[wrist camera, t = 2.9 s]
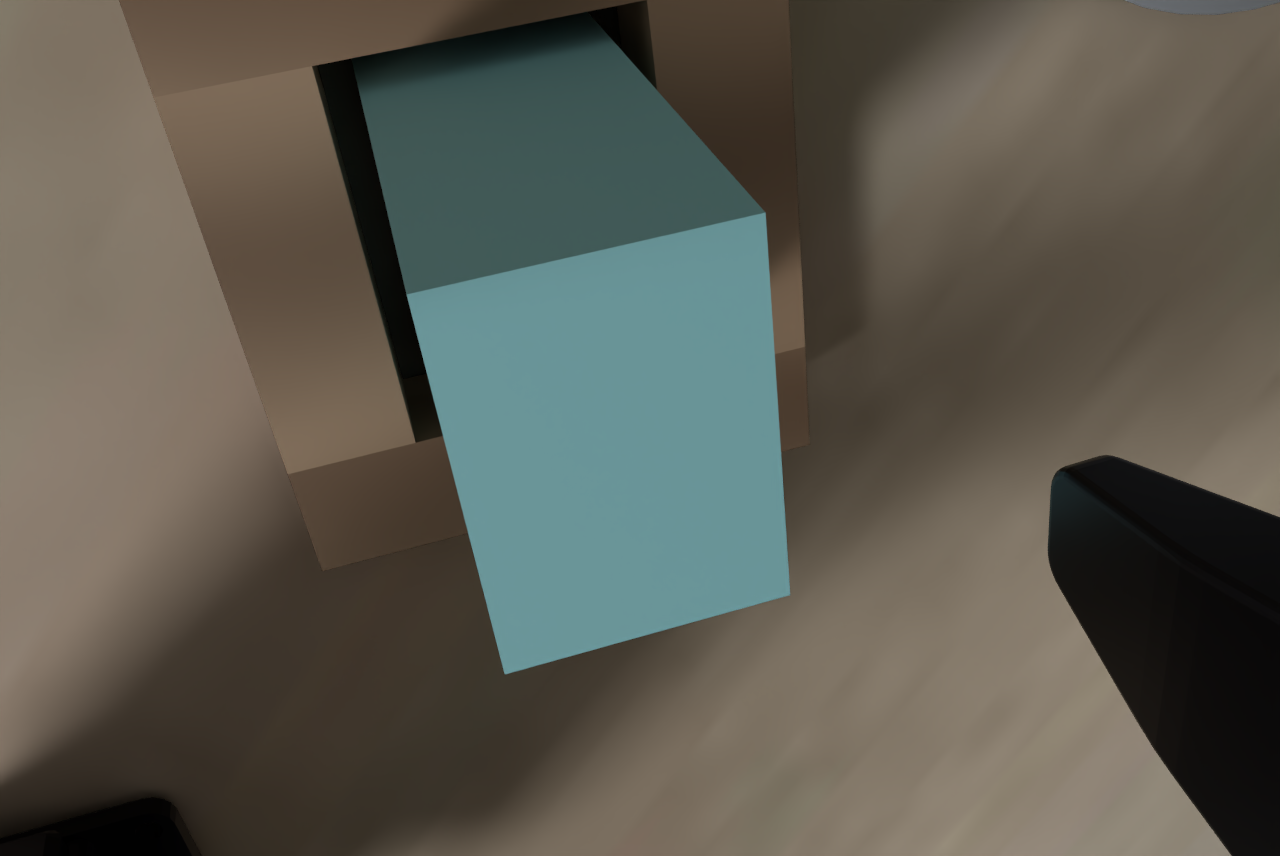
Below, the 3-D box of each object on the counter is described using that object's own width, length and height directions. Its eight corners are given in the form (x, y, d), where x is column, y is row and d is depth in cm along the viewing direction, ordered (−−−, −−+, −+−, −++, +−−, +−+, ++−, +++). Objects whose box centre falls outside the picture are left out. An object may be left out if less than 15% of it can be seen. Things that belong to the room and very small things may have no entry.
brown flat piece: (770, 386, 23) (809, 444, 21) (317, 500, 22) (322, 571, 20) (729, -206, 17) (779, -190, 15) (110, -99, 16) (94, -69, 14)
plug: (624, 298, 21) (790, 594, 15) (425, 346, 21) (504, 674, 14) (583, 6, 18) (765, 211, 12) (350, 52, 18) (406, 294, 11)
